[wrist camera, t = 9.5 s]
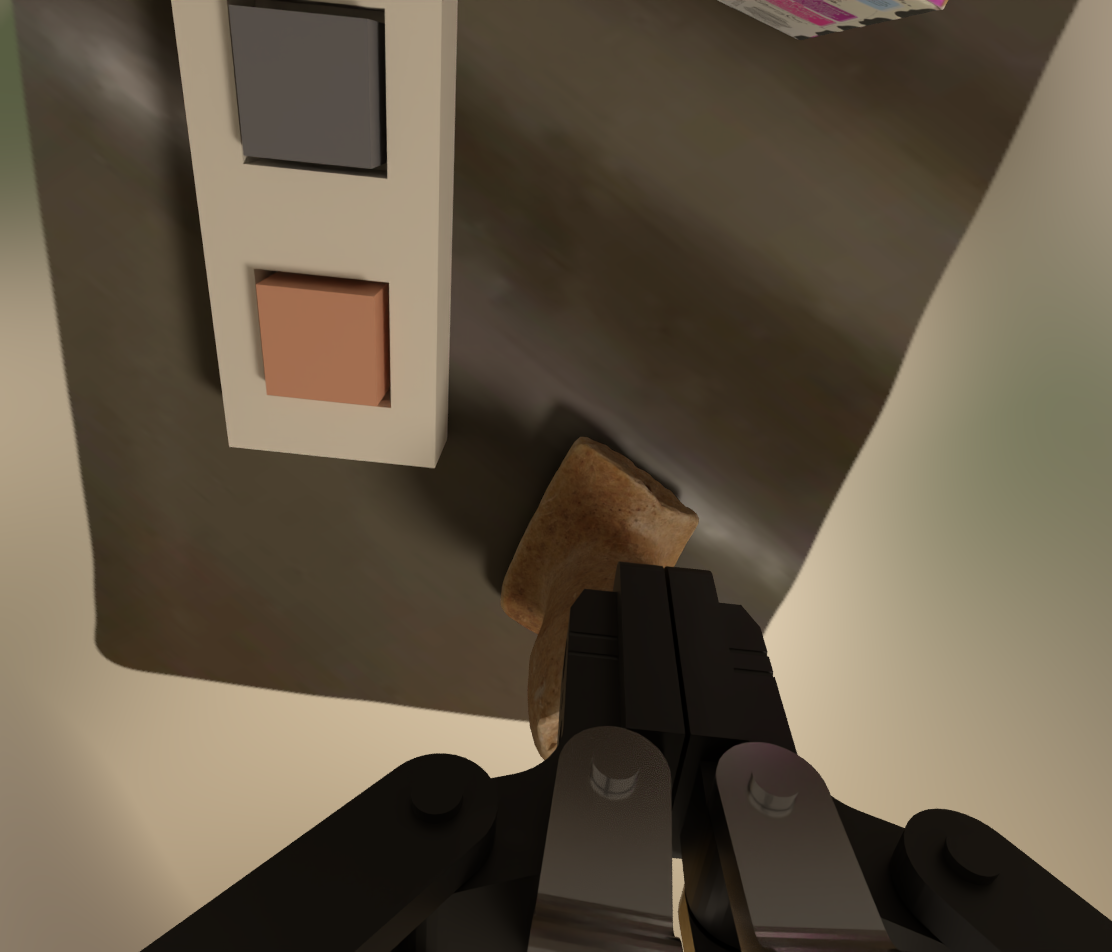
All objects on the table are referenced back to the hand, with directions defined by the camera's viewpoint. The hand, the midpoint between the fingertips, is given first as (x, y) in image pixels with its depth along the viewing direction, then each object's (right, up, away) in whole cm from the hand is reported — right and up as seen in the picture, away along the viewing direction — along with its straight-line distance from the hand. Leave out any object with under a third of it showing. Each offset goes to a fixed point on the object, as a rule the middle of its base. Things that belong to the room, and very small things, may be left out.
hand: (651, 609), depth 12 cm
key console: (-13, +17, +28) cm, 35 cm away
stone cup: (+2, -3, +38) cm, 38 cm away
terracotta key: (-14, +10, +29) cm, 34 cm away
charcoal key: (-13, +21, +24) cm, 34 cm away
